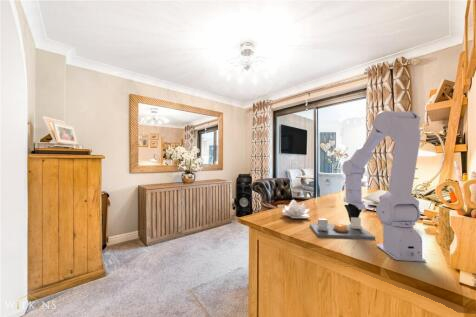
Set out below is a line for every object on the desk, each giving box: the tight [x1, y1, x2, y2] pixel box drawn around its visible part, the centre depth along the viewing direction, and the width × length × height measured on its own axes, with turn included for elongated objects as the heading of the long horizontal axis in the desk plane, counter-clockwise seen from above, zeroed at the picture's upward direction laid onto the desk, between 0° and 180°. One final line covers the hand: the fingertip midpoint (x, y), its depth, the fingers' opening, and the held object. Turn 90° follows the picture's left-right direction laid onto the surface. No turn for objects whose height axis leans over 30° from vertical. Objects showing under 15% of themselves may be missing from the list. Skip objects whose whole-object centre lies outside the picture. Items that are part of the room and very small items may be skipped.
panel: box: [309, 223, 376, 240], centre depth 77 cm, size 12×20×1 cm, turn 83°
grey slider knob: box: [317, 218, 329, 231], centre depth 76 cm, size 2×4×4 cm, turn 83°
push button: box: [333, 223, 347, 232], centre depth 76 cm, size 4×4×2 cm
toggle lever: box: [349, 216, 363, 229], centre depth 79 cm, size 2×4×4 cm, turn 83°
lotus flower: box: [281, 199, 311, 219], centre depth 98 cm, size 14×15×9 cm
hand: (353, 222), depth 81 cm, fingers closed
